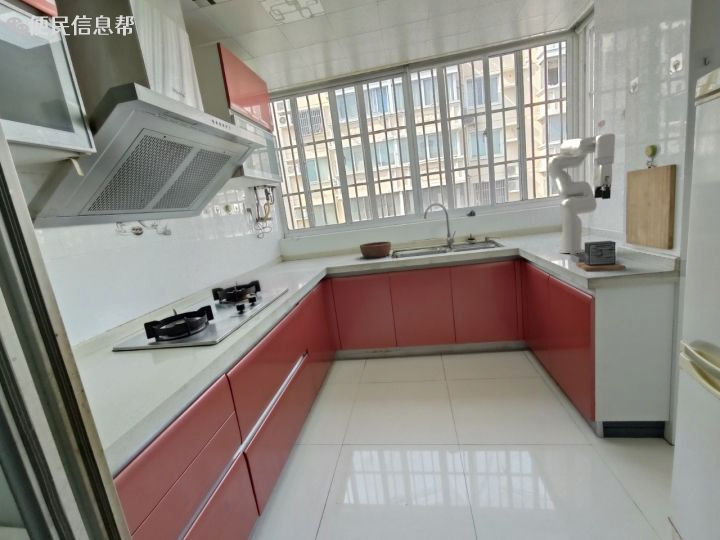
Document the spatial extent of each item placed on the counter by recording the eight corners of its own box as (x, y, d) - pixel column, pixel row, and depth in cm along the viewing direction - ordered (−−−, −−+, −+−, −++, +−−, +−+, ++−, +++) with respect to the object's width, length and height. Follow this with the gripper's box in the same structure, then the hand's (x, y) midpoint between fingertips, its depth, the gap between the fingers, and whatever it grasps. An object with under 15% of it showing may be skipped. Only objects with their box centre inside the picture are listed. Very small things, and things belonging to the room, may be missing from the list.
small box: (609, 262, 154) (610, 240, 153) (615, 264, 148) (616, 241, 146) (583, 263, 158) (584, 241, 156) (588, 266, 152) (589, 243, 150)
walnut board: (576, 265, 161) (576, 262, 161) (612, 263, 157) (612, 260, 156) (586, 271, 149) (586, 268, 149) (625, 269, 144) (625, 266, 144)
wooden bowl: (367, 254, 281) (365, 242, 279) (395, 252, 272) (394, 240, 270) (356, 259, 258) (355, 247, 256) (386, 258, 249) (385, 244, 247)
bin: (570, 259, 175) (570, 254, 174) (604, 258, 170) (604, 252, 170) (578, 264, 163) (578, 258, 163) (615, 262, 158) (615, 256, 158)
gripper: (588, 163, 165) (587, 198, 169) (601, 161, 149) (599, 200, 153) (605, 161, 163) (604, 196, 167) (621, 159, 147) (618, 198, 151)
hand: (602, 198), depth 160 cm, fingers open, 9 cm apart
